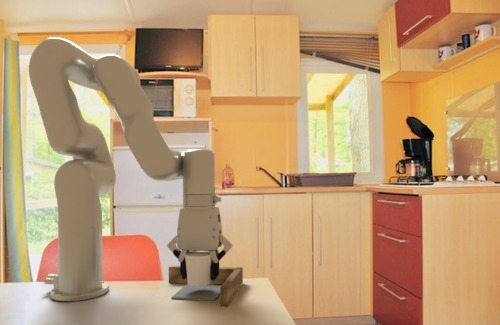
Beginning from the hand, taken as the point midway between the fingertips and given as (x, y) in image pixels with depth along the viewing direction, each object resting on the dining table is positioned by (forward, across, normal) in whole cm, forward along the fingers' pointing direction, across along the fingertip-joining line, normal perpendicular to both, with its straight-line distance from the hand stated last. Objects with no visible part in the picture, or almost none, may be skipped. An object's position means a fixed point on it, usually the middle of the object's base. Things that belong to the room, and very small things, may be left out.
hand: (199, 277), depth 87 cm
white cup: (+1, 0, 0) cm, 1 cm away
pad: (+4, 0, 0) cm, 4 cm away
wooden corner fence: (+4, +1, 0) cm, 4 cm away
